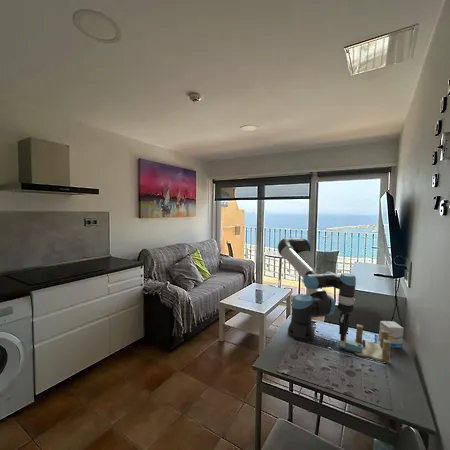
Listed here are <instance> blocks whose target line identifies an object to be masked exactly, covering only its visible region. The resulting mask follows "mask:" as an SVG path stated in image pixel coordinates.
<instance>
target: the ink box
mask: <svg viewBox="0 0 450 450" xmlns="http://www.w3.org/2000/svg"><path fill="white" fill-rule="evenodd" d="M381 329H382V330H387V331H388V340H389V341H391V349H403V342H404V340H403V338H404V327H403V326H401V325H400V324H398V323H397V322H396V321H391V320H389V321H388V320H380V321H379V332H378V333H379V334H378V341H379V342H380V338H381Z"/></svg>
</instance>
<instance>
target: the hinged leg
mask: <svg viewBox="0 0 450 450" xmlns="http://www.w3.org/2000/svg"><path fill="white" fill-rule="evenodd" d="M338 346H339V347H342V348H345V349H348V350H351V351H354V352H355V351H357V352H360V353H362V351H363V345H361V344H359V343H355V341H351V340H347V339H346V346H345V347H343V346H340V341H339V344H338Z"/></svg>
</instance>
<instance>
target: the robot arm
mask: <svg viewBox="0 0 450 450" xmlns="http://www.w3.org/2000/svg"><path fill="white" fill-rule="evenodd" d="M312 249H313V248H312V243H311V241H310V240H309V239H308V238H306V237H300V236H299V237H284V238H283V239H281V240H279V242H278V245H277V251H278V252H277V253H278V254H279V255H280V256H281V257H282V258H283V259H286V261H287V262H288V263H289V265H291V266H292V268H294V270H295V271H296V272H297V273H298V274H299V275H300V276H301V277H302V278H303V280H302V281H303V285H304V287H305V288H306V289H307V291H308V294H306V293H305V294H302V293H300V294H296V295H294V296H293V297H292V300H291V314H290V315H291V318H290V323H289V325H288V328H287V335H288V336H289V338H291V339H294V340H296V341H300V342H309V341H312V340H314V337H315V333H314V329H313V324H312V323H313V321H312V320H313V319H312V318H318V317H319V318H320V317H328V316H332V314H334V312H335V309H336V301H335V299H334V298H333V297H332V296H331V295H330V294H328V293H327V290H325V289H327V288H335V289H337V290H338V300H337V301H338V302H337V310H339V311H340V313H339V319H338V322H339V324H338V325H339V331H338V334H339V336H340V337H339V338H340V339H339V342H340V346H339V347H341V346H343V347H342V348H344V347H345V346H346V340H347V335H349V332H348V331H349V326H350V318H351V314H352V313H353V312H354V307H355V305H354V304H355V301H356V298H355V295H356V294H355V292H356V284H357V283H356V282H357V281H356V275H354V274H351V273H346V272H343V273H340V274H338V273H335V272H334V271H326V272H324V273H317V272H316V269H315V266H314V264H313V262H312V260H311V257H310V255H311V252H312Z"/></svg>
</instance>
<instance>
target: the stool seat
mask: <svg viewBox="0 0 450 450" xmlns="http://www.w3.org/2000/svg"><path fill="white" fill-rule="evenodd" d="M363 329H364V325H362V324H356V334H355V338H354V343H359V344H361V345H363V351H362V353H360V352H357V351H354V355H357V356H361V357H365V358H368V359H373V360H376V361H380V362H383V363H388V364H391V363H392V361H391V349H392V348H391V341H389V340H388V331H387V330H382V329H381V338H380V341H379V343H376V342H371V341H367V340H366V339H363Z"/></svg>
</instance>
